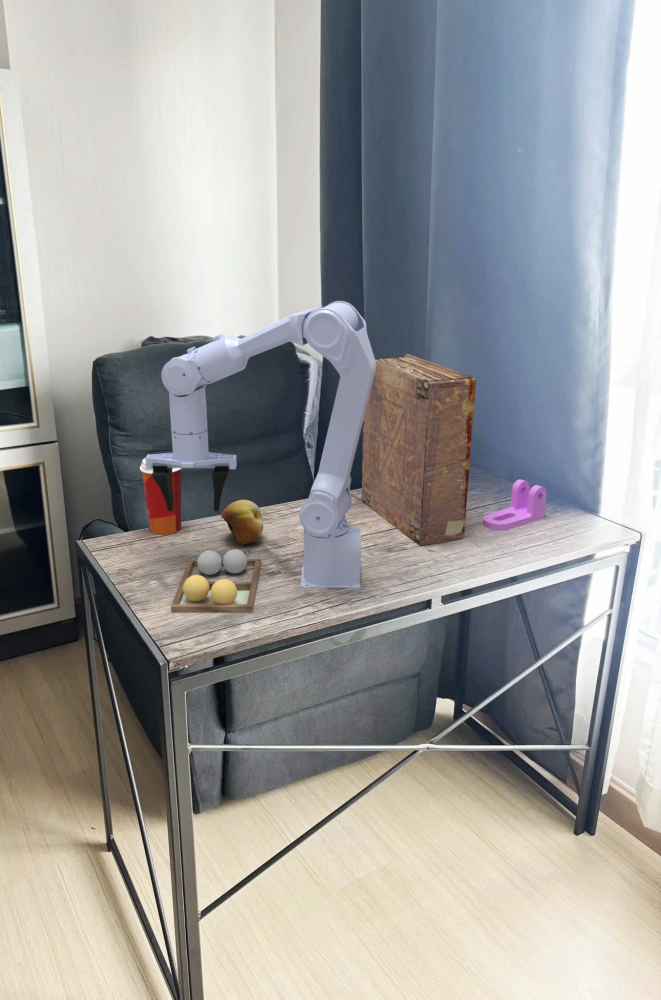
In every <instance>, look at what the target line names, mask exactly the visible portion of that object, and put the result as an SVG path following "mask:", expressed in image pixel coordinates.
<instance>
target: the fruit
mask: <svg viewBox="0 0 661 1000" xmlns="http://www.w3.org/2000/svg"><path fill="white" fill-rule="evenodd" d="M220 516H221V520H222V519H223V521H224V522H226V524H227V527H228V528H229V530H230V532H231V534H232V536H233V537H234V538H235V539H236V542H237V544H239V545H249V544H251V543H254V542H255V541H256V540H257V539H258V538H259V537H260V536H261V535H262V533H263V531H264V520H263V515H262V512H261V509H260V507H259V506H258V505H257V504H256V503H255V502H253V501H251V500H248V499H240V500H236V501H233V502H231V503H230V504H228V505H227V506H226V507H225V508H224V509H223V510H222V511H221V512H220Z"/></svg>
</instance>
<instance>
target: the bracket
mask: <svg viewBox="0 0 661 1000" xmlns="http://www.w3.org/2000/svg"><path fill="white" fill-rule="evenodd" d="M546 502H547V489H546V488H545V487H544V486H541V485H538V484H535V485H533V486H532V487H531V486H530V482H528V481H527V480H523V479H517V480H515V481H514V483H513V485H512V488H511V494H510V506H509V507H507V508H505V509H501V510H498V511H495V512H492V513H489V514H485V515H484V516H483V518H482V527H484V528H486V529H488V530H491V531H497V532H498V531H508V530H511V529H515V528H518V527H520V526H523V525H528V524H530V523H533V522H536V521H540V520H542V519H544V518H545V513H546V504H547V503H546Z"/></svg>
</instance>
